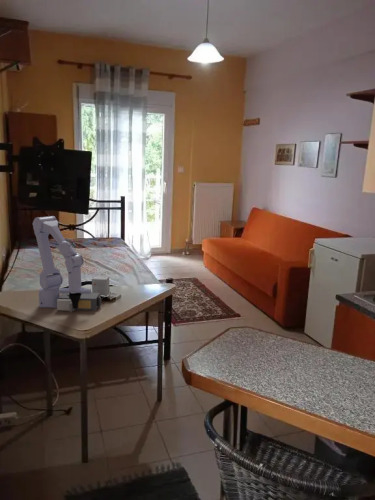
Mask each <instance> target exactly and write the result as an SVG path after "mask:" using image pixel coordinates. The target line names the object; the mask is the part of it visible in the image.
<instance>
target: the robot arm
mask: <svg viewBox="0 0 375 500" xmlns="http://www.w3.org/2000/svg"><path fill="white" fill-rule="evenodd" d="M32 226H33V227H32V229H33V231H34V236H35V237H36V242H37V247H38V251H39V257H40V259H41V265H42V269H43V270H42V271H41V272H40V273H39V286H40V288H39V290H38V308H53V309H54V308H56V309H57V300H58V297H59V296H60V295H61V294H62V293H69V298H70V300H71V301H72V304H73V307H74V309H77V308H78V302H79V299H80V297H81V294H91V293H92V288H85V287H84V288H83V287H82V268H81V266H83V265H84V258H83V256H82V254H80V253H78V252H76V250H75V249H74V248H73V246H72V244H71V242H70V241H66V239H65V238H64V235H63V234H62V232H61V230H60V228H59V221H58V220H57V218H56V216H54V215H48V216H40V217H39V216H37V217H35V218H34V220H33V221H32ZM49 235H51V237H52V238H53V239H54V240H55V242H56V243H57V244H58V250H59V252H60V254H61V255H62V257H63V258H64V260H65V261H64V265H65V267H66V271H67V273H68V274H67V276H68V277H67V278H68V281H67V282H68V287H66V288H65V287H64V288H63V287H62V288H61V285H63V282H64V279H63V278H64V277H63V276H62V274H61V271H60V269H58V268H56V267H55V263H54V257H53V254H52V250H51V245H50V240H49Z"/></svg>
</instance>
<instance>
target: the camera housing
mask: <svg viewBox="0 0 375 500" xmlns="http://www.w3.org/2000/svg"><path fill="white" fill-rule="evenodd" d="M58 299H70V298H69V293H61V294H60V296H59V297H58ZM101 305H102V298H101V297H100V293H92V292H91V294H81V297H80V299H79V302H78V308H77V309H75V310H74V311H95V312H96V311H97V309H99V308H100V307H101Z"/></svg>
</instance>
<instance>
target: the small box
mask: <svg viewBox="0 0 375 500" xmlns="http://www.w3.org/2000/svg"><path fill="white" fill-rule="evenodd" d="M91 293H100V295H105V296H107V295H108V294H109V293H111V291H110V276H100V275H99V276H98V275H95V276H94V277H92V278H91Z"/></svg>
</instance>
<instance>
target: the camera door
mask: <svg viewBox="0 0 375 500" xmlns="http://www.w3.org/2000/svg"><path fill="white" fill-rule="evenodd" d="M56 309H57V311H69V312H73V311H74V312H75V311H76V310H75V309H74V307H73V304H72V301H71V300H70V299H58V300H57V308H56Z"/></svg>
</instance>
